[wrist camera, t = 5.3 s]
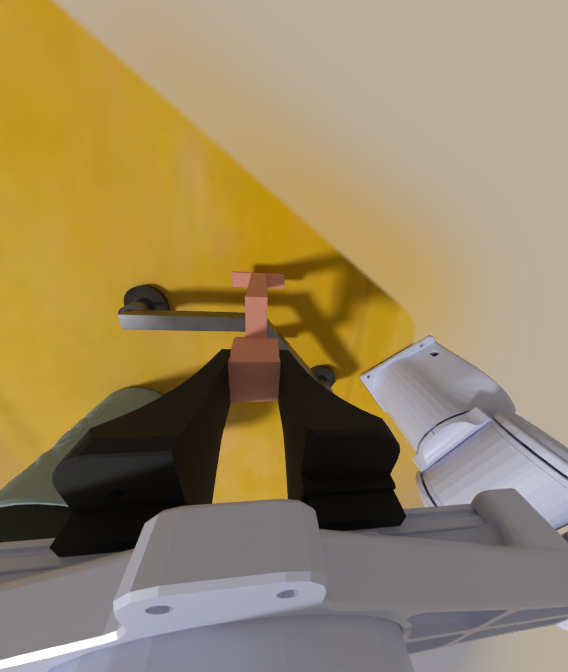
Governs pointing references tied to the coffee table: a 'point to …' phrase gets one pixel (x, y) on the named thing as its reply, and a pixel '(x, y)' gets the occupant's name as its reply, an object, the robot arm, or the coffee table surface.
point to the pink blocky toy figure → (255, 343)
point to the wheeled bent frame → (198, 323)
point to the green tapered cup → (36, 481)
